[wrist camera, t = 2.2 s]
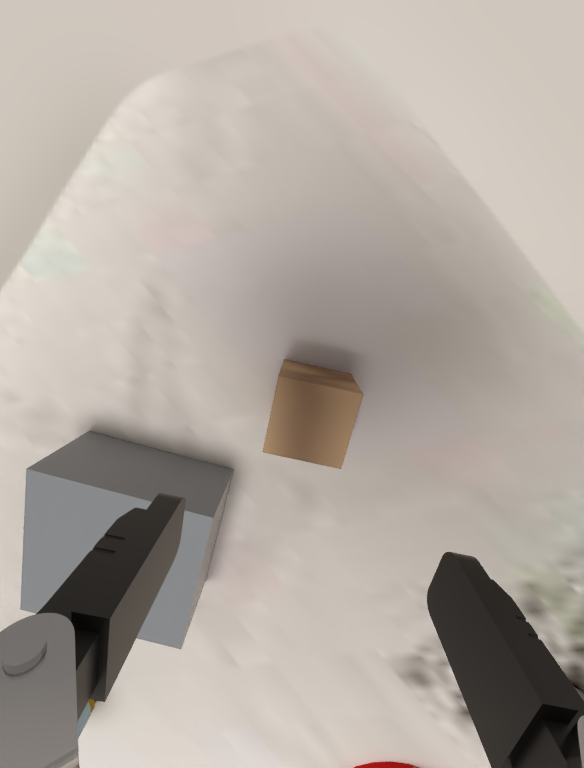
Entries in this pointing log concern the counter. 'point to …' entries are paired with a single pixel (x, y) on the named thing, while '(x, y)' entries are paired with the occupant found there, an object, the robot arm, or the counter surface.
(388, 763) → the kitchen timer
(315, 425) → the walnut cube
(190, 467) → the gray square block
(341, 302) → the counter surface
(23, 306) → the counter surface
